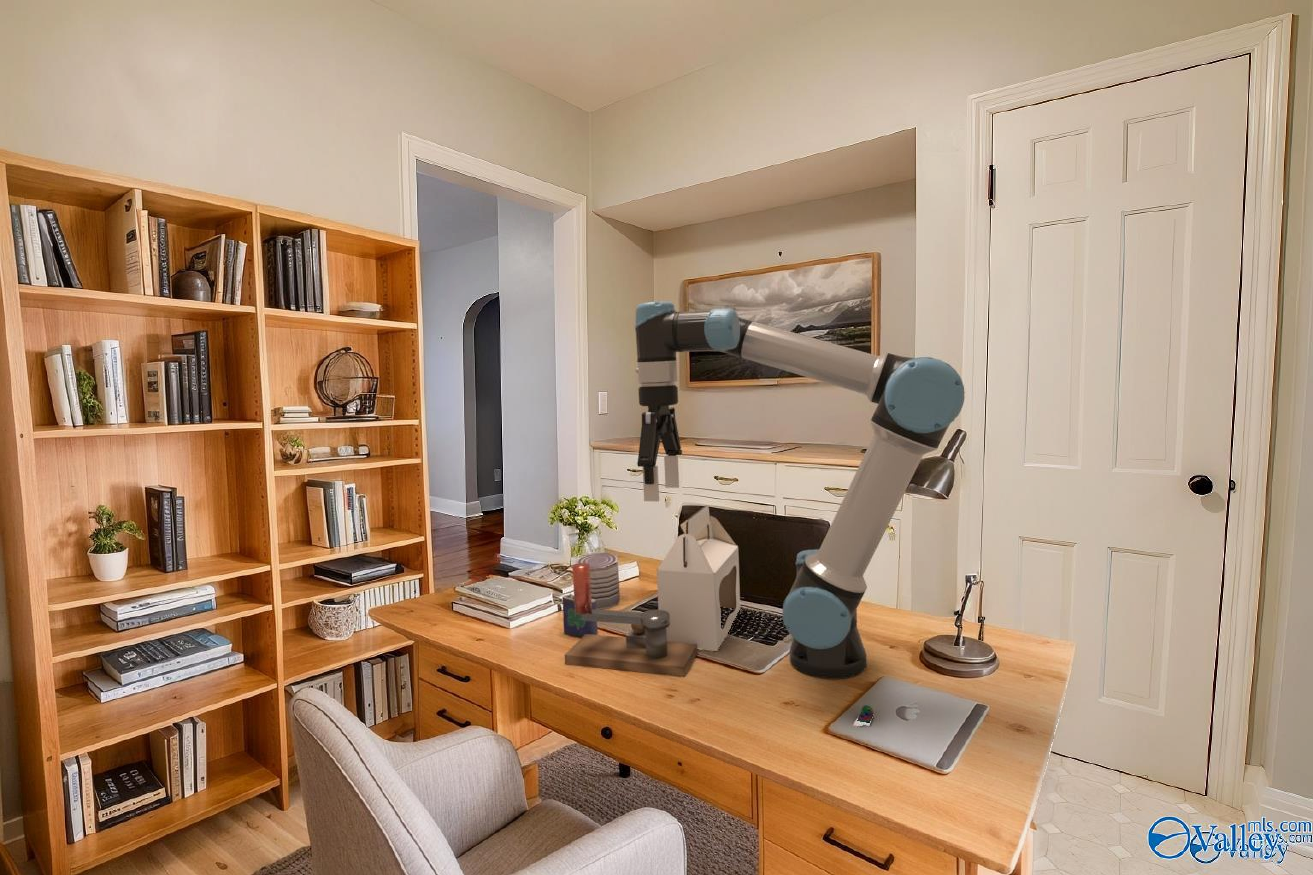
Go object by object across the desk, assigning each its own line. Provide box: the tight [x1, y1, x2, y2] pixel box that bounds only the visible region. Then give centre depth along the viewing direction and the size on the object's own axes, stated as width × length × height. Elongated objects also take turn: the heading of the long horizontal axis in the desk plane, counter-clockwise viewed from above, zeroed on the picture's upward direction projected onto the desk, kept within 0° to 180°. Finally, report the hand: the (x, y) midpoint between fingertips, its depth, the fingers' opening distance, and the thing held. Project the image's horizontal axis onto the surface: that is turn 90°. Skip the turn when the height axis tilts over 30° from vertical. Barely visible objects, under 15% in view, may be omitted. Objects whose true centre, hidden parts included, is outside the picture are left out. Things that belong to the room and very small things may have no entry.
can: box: [575, 551, 621, 610], centre depth 173 cm, size 11×11×12 cm
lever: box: [571, 563, 670, 630], centre depth 137 cm, size 21×6×12 cm, turn 74°
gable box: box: [656, 505, 741, 651], centre depth 151 cm, size 22×13×28 cm, turn 160°
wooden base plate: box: [564, 624, 698, 677], centre depth 139 cm, size 26×11×8 cm, turn 72°
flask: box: [561, 593, 599, 639], centre depth 152 cm, size 9×3×11 cm, turn 61°
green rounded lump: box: [857, 704, 875, 723], centre depth 111 cm, size 4×3×2 cm, turn 150°
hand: (662, 494), depth 128 cm, fingers open, 13 cm apart
